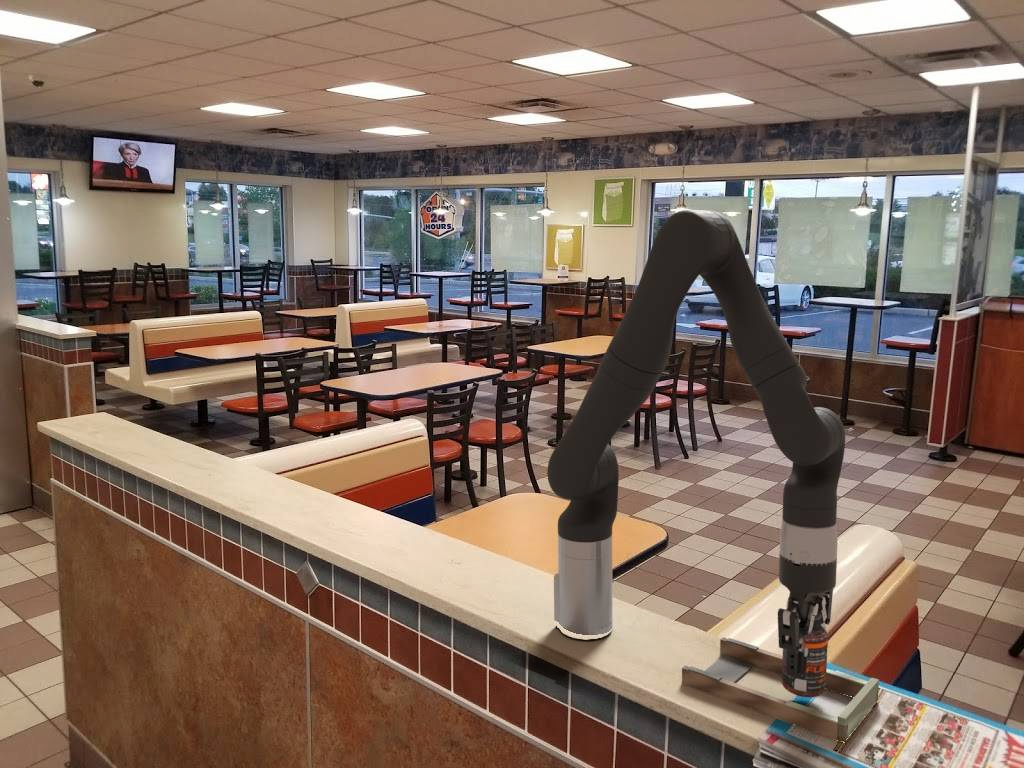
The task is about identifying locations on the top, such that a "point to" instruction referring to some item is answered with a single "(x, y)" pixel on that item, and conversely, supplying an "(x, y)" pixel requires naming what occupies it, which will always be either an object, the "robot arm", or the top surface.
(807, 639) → the supplement bottle
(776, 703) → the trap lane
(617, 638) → the top surface
